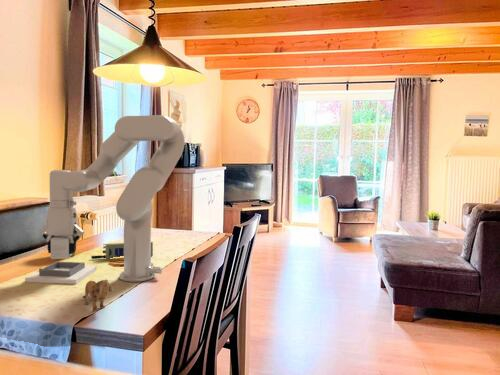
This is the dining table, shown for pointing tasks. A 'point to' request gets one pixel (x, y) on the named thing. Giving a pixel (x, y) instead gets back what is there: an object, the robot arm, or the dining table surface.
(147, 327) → the dining table surface
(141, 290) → the dining table surface
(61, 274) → the dock
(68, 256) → the product box
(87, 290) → the lion figurine
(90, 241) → the dining table surface
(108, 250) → the handheld radio
